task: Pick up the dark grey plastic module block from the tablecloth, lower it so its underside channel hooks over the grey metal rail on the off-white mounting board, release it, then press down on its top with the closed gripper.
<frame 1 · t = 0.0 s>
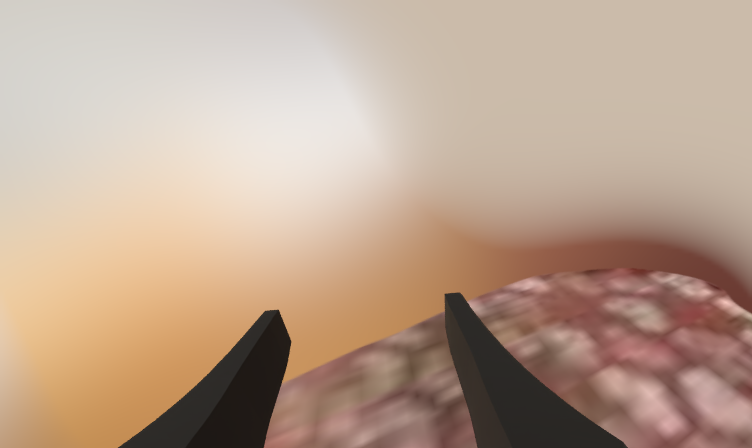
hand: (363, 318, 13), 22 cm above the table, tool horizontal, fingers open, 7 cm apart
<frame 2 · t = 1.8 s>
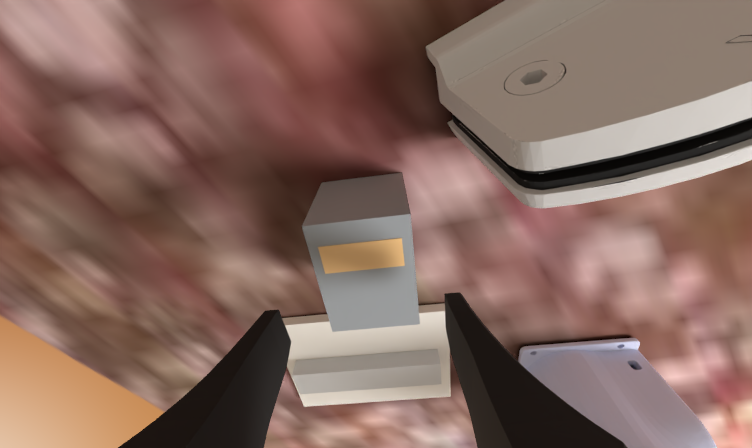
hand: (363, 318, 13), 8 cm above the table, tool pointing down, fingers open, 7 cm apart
rail board: (368, 356, 26), on the table
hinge: (600, 40, 15), on the table
module: (369, 226, 20), on the table
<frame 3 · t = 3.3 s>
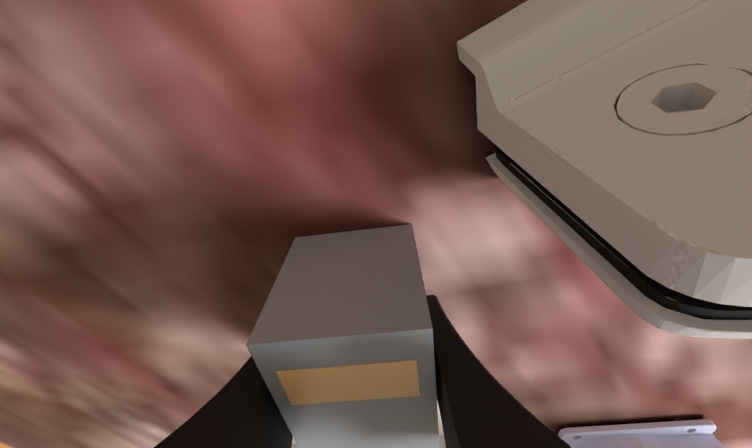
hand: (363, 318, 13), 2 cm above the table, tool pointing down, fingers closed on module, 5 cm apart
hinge: (735, 29, 9), on the table
module: (365, 293, 14), on the table, touching gripper
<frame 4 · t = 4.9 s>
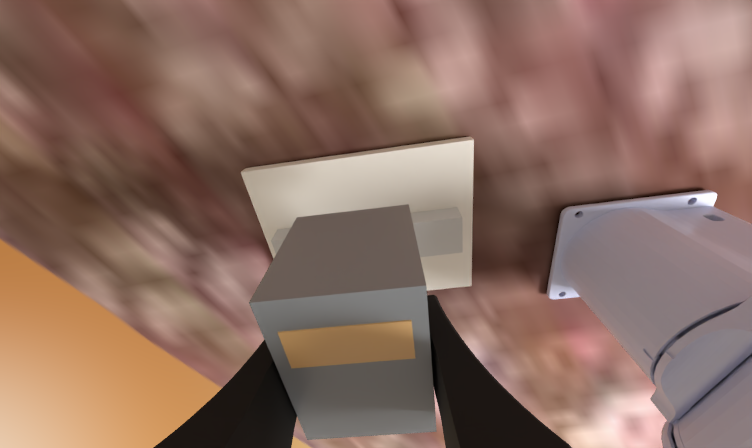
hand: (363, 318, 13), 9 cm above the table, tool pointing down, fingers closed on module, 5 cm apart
rail board: (368, 229, 21), on the table
module: (363, 274, 15), point 7 cm above the table, touching gripper
when the fingers open (3 cm above the table, at t = 6.9 s): module stays where it is, resting on rail board.
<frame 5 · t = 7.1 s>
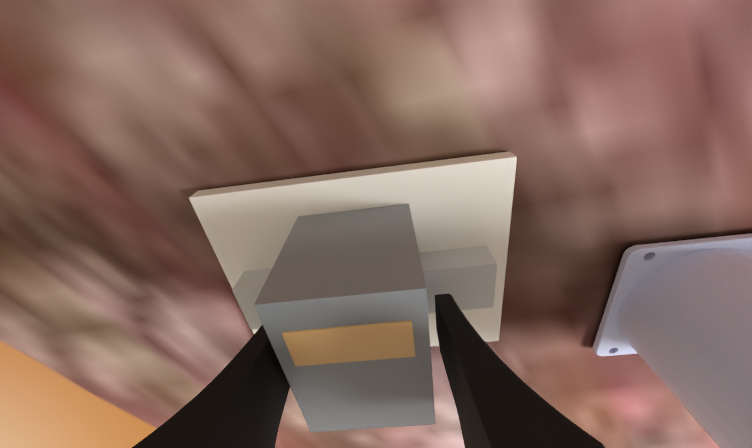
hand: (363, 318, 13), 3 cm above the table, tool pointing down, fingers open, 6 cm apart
rail board: (366, 269, 16), on the table
module: (364, 272, 15), point 1 cm above the table, touching rail board
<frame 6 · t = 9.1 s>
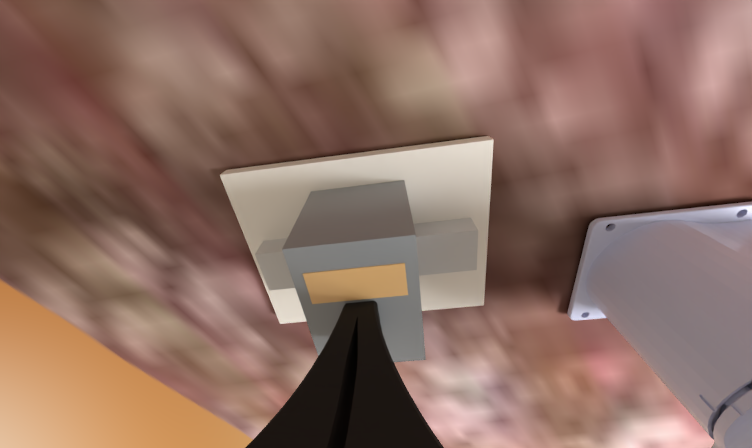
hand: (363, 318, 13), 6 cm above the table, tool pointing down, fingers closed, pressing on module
rail board: (368, 240, 18), on the table
module: (366, 241, 18), point 1 cm above the table, touching gripper, rail board
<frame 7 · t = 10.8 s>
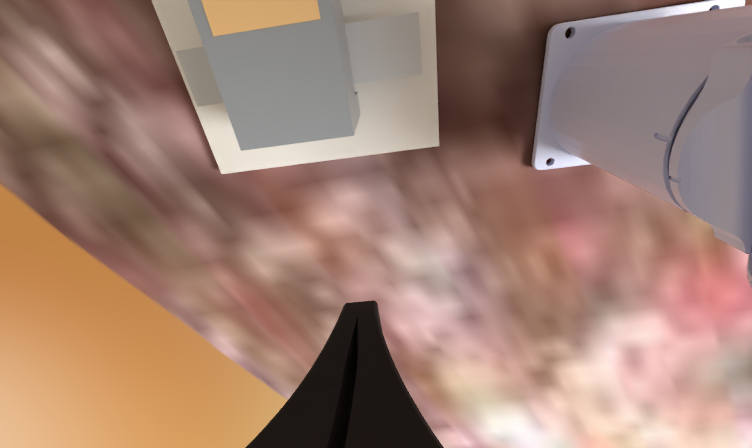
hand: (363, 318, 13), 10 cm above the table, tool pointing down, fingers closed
rail board: (309, 61, 17), on the table
module: (304, 51, 16), point 1 cm above the table, touching rail board
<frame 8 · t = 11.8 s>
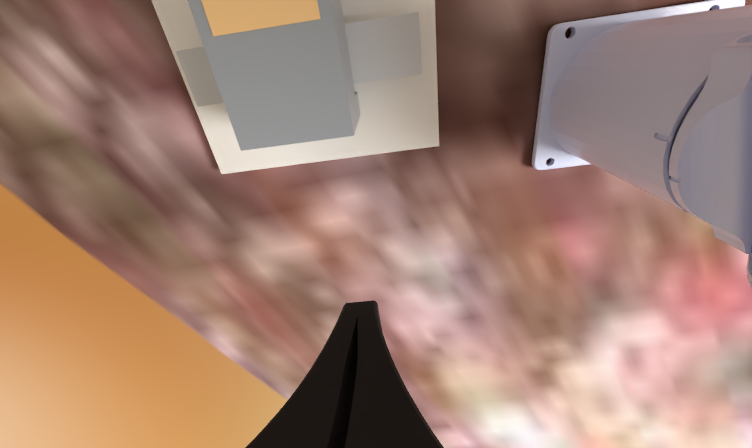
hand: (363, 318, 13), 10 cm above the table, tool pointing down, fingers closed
rail board: (309, 61, 17), on the table
module: (304, 51, 16), point 1 cm above the table, touching rail board
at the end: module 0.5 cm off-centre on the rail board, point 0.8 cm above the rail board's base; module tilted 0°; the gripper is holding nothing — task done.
